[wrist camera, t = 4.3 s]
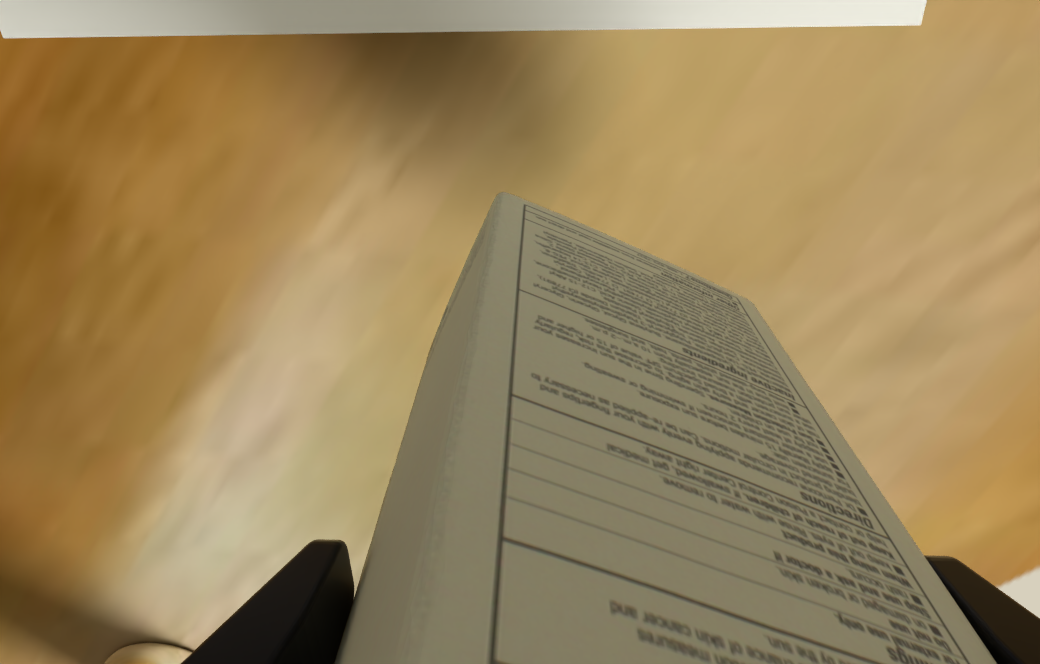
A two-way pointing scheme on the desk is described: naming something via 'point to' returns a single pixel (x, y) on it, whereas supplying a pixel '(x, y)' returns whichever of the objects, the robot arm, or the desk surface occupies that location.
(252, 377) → the desk surface
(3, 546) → the desk surface
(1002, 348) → the desk surface
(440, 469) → the skincare box
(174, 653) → the beer glass
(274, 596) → the robot arm
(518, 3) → the box
